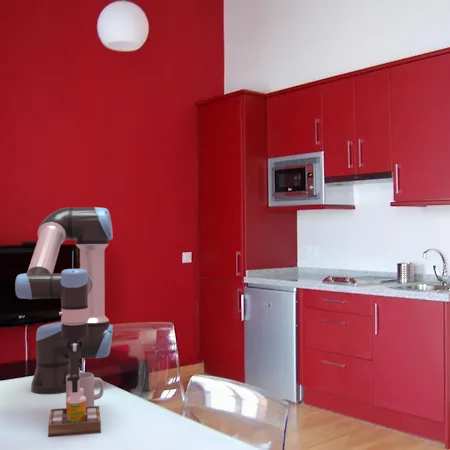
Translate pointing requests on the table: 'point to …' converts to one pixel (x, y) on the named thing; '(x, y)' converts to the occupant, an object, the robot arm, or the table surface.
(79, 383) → the robot arm
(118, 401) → the table surface
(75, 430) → the walled box
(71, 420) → the supplement bottle
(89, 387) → the mug
